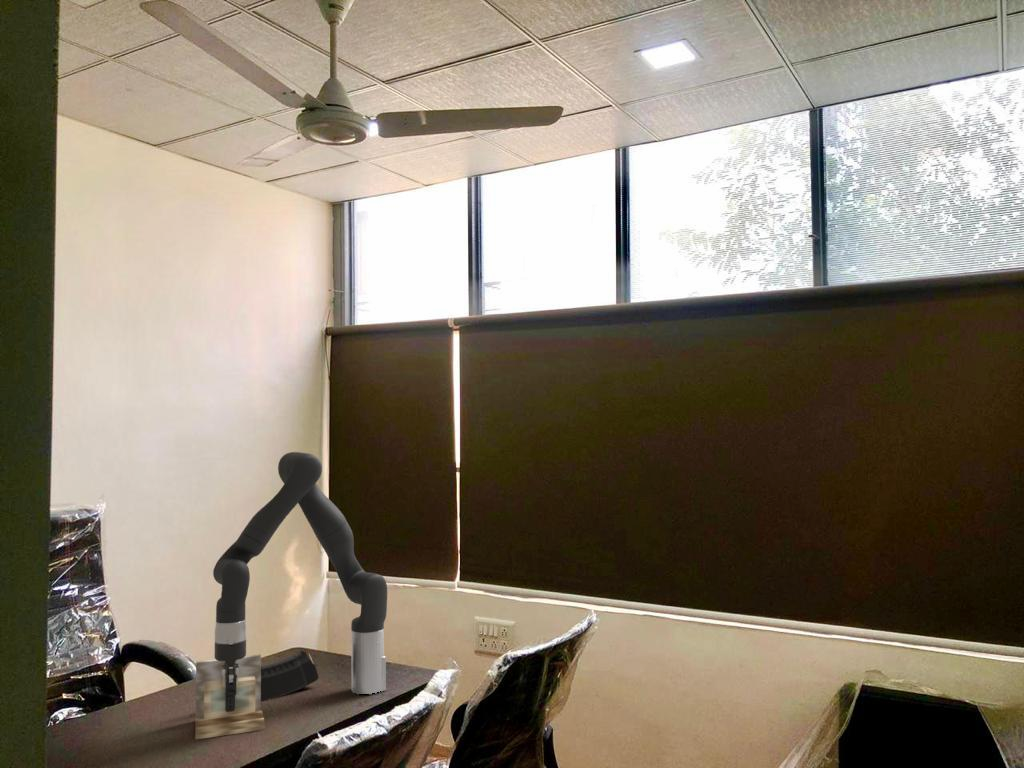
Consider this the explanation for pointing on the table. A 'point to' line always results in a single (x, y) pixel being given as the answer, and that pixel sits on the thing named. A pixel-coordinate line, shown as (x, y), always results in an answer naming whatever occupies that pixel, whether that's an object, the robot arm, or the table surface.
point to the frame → (217, 699)
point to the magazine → (287, 676)
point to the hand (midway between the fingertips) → (229, 708)
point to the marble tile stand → (230, 723)
